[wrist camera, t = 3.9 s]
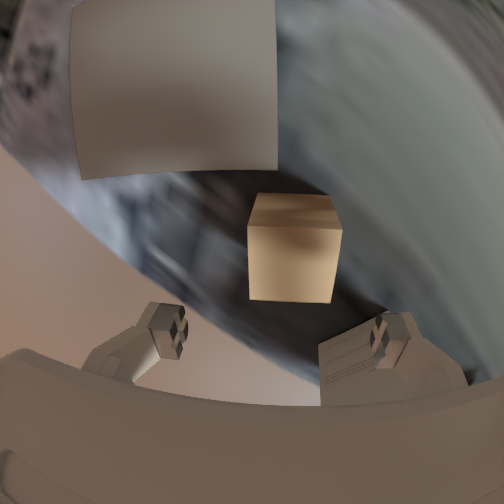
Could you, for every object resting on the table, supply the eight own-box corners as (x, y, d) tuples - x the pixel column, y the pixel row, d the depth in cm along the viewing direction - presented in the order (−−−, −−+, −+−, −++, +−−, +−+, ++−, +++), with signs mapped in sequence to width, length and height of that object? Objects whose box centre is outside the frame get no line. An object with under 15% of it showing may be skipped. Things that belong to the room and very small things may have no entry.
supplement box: (348, 377, 26) (355, 487, 15) (315, 342, 24) (317, 478, 13) (411, 349, 23) (439, 462, 12) (390, 306, 21) (429, 447, 10)
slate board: (273, -37, 9) (271, -44, 8) (278, 166, 16) (277, 170, 15) (80, 10, 11) (72, 8, 10) (89, 176, 18) (81, 180, 17)
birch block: (329, 195, 17) (342, 229, 13) (322, 256, 19) (330, 303, 15) (258, 192, 17) (247, 225, 13) (258, 253, 20) (249, 299, 15)
